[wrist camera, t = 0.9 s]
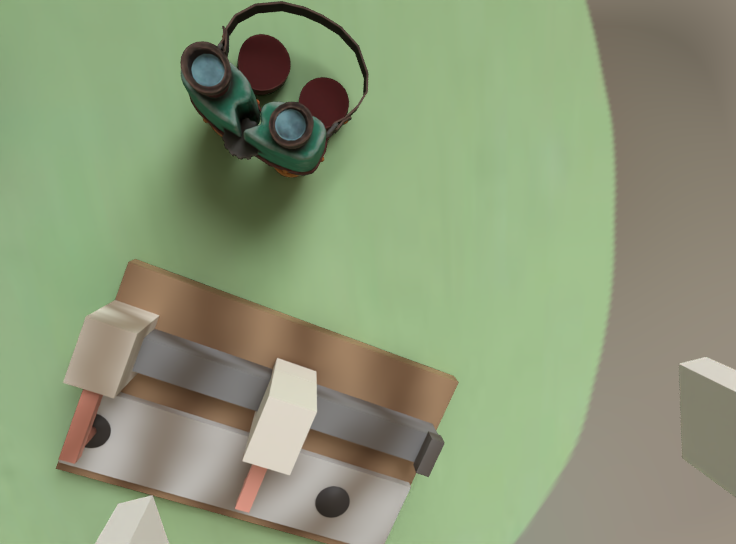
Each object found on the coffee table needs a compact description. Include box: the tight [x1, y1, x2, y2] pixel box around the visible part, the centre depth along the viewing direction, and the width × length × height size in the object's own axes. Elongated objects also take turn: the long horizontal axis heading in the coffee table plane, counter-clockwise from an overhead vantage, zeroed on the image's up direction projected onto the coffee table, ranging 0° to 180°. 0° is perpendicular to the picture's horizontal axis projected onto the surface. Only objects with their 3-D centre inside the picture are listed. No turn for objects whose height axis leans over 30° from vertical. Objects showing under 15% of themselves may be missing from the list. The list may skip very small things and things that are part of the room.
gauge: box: [56, 259, 459, 544], centre depth 32 cm, size 25×16×5 cm, turn 67°
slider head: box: [235, 358, 317, 513], centre depth 30 cm, size 3×10×6 cm, turn 157°
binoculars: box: [181, 1, 368, 177], centre depth 26 cm, size 9×10×10 cm
